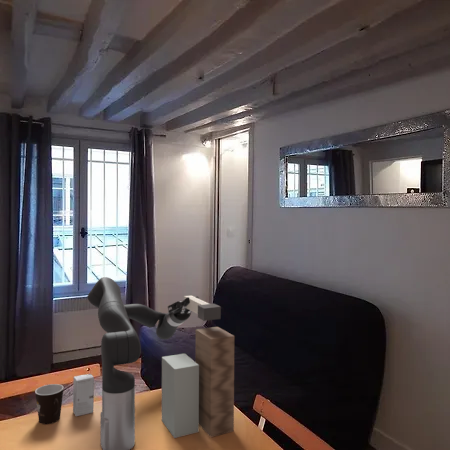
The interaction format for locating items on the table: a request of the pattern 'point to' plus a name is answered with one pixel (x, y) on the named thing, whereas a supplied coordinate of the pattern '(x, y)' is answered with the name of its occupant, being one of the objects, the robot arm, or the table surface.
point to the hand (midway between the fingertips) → (193, 299)
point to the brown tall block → (215, 380)
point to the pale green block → (180, 395)
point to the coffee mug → (49, 403)
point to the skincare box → (83, 394)
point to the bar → (203, 309)
